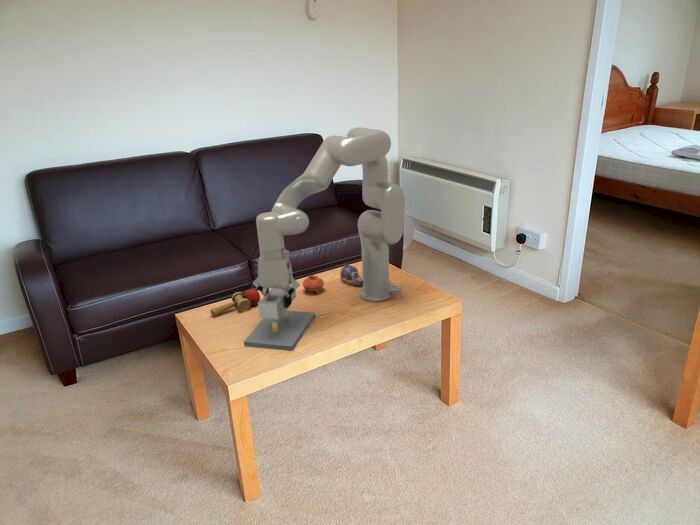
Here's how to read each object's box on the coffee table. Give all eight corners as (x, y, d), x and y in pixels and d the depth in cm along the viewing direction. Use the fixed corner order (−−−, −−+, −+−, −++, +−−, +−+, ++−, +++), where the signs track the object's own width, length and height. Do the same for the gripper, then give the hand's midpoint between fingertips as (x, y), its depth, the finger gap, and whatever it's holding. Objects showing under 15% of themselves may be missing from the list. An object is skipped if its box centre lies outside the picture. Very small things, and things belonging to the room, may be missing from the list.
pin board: (315, 316, 176) (314, 303, 174) (292, 350, 157) (291, 336, 155) (271, 313, 180) (270, 300, 178) (244, 345, 161) (242, 331, 159)
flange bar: (278, 319, 157) (276, 304, 155) (259, 317, 159) (257, 303, 157) (296, 296, 172) (294, 282, 170) (279, 295, 173) (277, 281, 171)
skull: (368, 286, 197) (368, 271, 195) (350, 290, 194) (349, 275, 192) (355, 275, 207) (354, 261, 205) (337, 279, 204) (336, 265, 202)
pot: (308, 284, 200) (311, 269, 197) (325, 292, 197) (328, 277, 194) (297, 292, 194) (299, 276, 191) (314, 300, 191) (317, 284, 188)
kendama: (218, 325, 177) (265, 303, 185) (212, 308, 175) (260, 287, 183) (212, 320, 184) (258, 299, 192) (206, 304, 182) (252, 284, 190)
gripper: (303, 249, 159) (307, 302, 166) (251, 247, 164) (258, 298, 171) (294, 258, 153) (300, 313, 160) (241, 256, 157) (248, 309, 164)
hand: (278, 305), depth 165 cm, fingers closed on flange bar, 6 cm apart
